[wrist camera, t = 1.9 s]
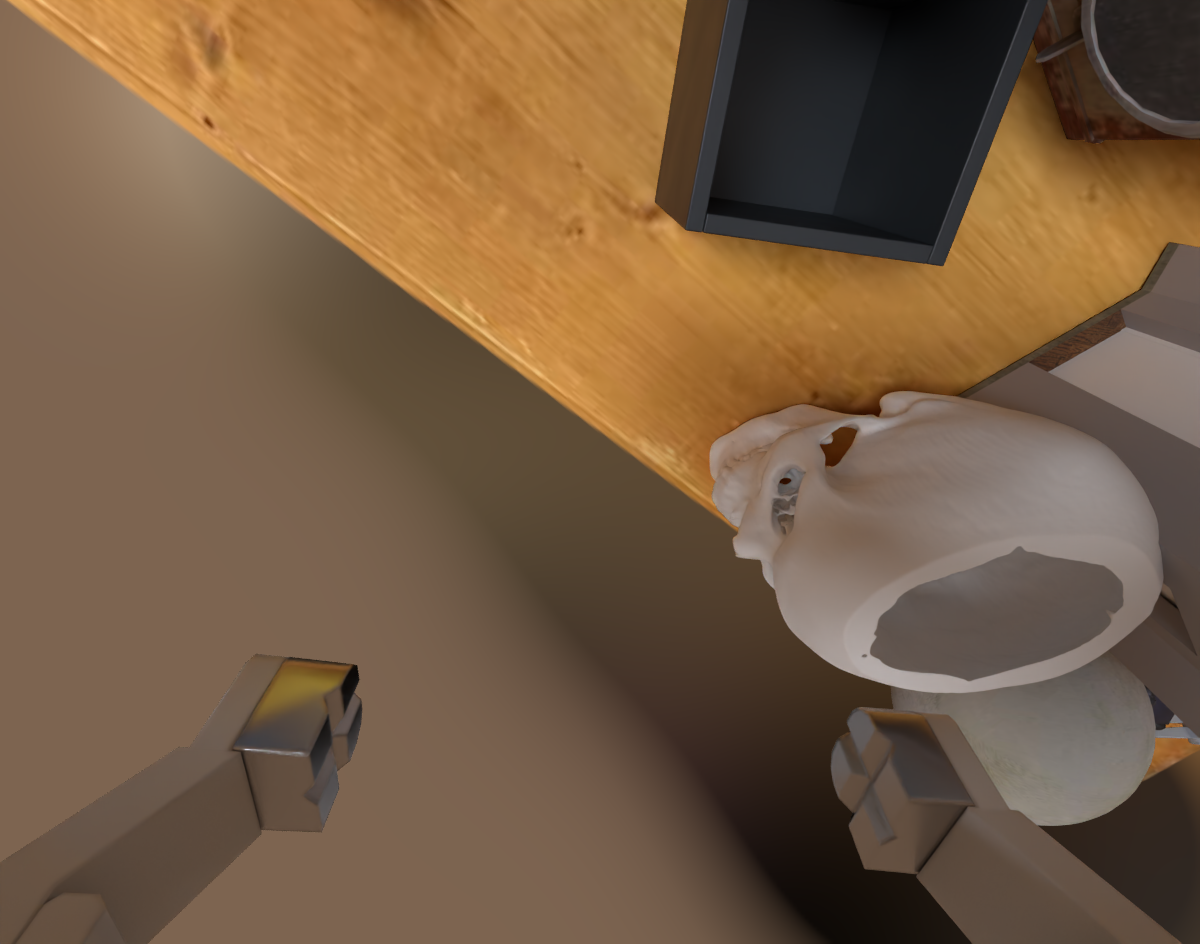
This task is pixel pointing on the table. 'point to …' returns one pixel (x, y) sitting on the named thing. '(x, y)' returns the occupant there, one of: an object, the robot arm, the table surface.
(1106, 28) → the lantern
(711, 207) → the trash can
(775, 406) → the table surface
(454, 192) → the table surface
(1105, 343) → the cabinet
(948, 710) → the decorative sphere
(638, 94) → the table surface
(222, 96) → the table surface
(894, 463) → the skull
